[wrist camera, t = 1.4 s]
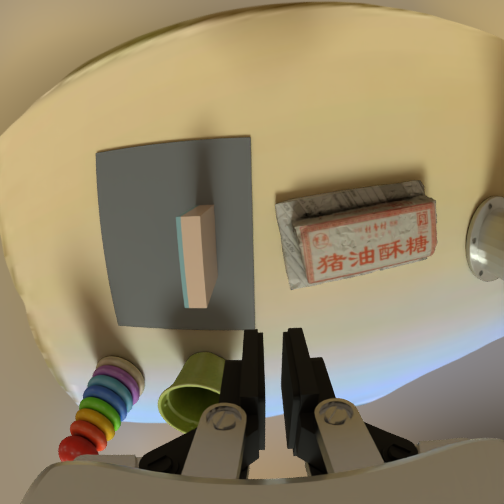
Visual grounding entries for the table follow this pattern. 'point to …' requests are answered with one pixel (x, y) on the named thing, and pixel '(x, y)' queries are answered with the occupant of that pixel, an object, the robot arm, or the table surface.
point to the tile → (197, 254)
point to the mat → (165, 231)
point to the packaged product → (355, 232)
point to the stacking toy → (103, 407)
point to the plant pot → (192, 391)
